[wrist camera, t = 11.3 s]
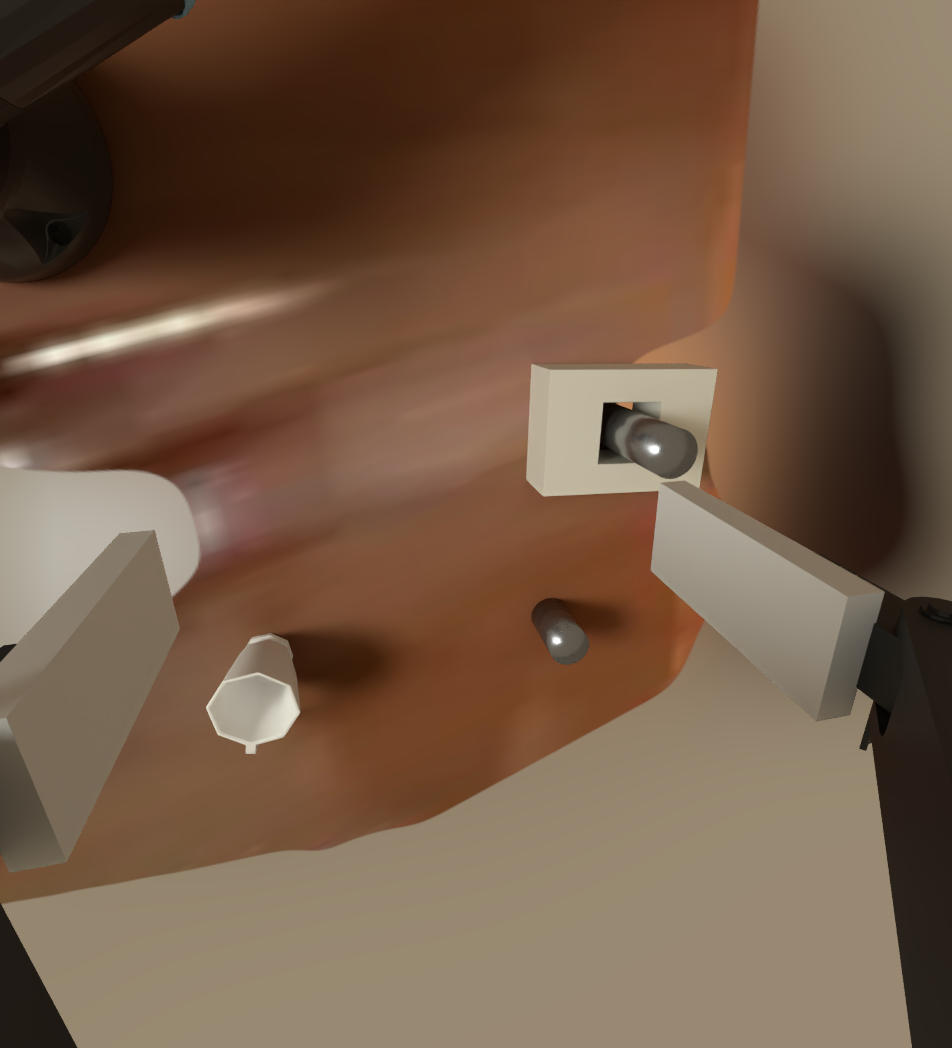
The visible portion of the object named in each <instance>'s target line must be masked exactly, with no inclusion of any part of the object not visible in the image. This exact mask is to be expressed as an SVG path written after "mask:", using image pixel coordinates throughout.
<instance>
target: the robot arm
mask: <svg viewBox="0 0 952 1048" xmlns="http://www.w3.org/2000/svg"><path fill="white" fill-rule="evenodd" d="M194 3H195V0H0V282H11V283H12V282H30V281H36V280H40V279H44V278H48V277H51V276H54V275H56V274H58V273H61V272H63V271H64V270H66V269H68V268H70V267H71V266H73V265H74V264H76V263H77V262H78V261H79V260H81V259H82V258H83V257H84V256H85V255H86V254H87V253H88V252H89V251H90V249H91V248H92V247H93V246H94V244H95V243H96V241H97V240H98V238H99V236H100V235H101V233H102V231H103V228H104V226H105V224H106V221H107V218H108V214H109V210H110V205H111V199H112V170H111V163H110V158H109V153H108V149H107V146H106V142H105V139H104V136H103V133H102V130H101V128H100V126H99V123H98V121H97V119H96V117H95V115H94V113H93V111H92V109H91V107H90V106H89V104H88V102H87V100H86V99H85V97H84V96H83V94H82V93H81V91H80V90H79V88H78V87H77V86H76V84H75V83H74V81H73V80H75V79H76V78H78V77H80V76H81V75H83V74H84V73H86V72H87V71H89V70H90V69H92V68H93V67H95V66H97V65H98V64H100V63H101V62H103V61H104V60H106V59H107V58H109V57H110V56H112V55H114V54H115V53H117V52H118V51H120V50H121V49H123V48H124V47H126V46H127V45H129V44H130V43H132V42H134V41H135V40H137V39H138V38H140V37H141V36H143V35H144V34H146V33H147V32H149V31H151V30H152V29H154V28H155V27H157V26H158V25H160V24H161V23H163V22H164V21H166V20H168V19H169V18H174V19H181V18H183V17H184V16H186V15H187V14H188V12H189V11H190V9H191V8H193V6H194ZM651 571H652V572H653V573H654V574H655V575H656V576H657V577H658V578H659V579H661V580H662V581H663V582H664V583H665V584H666V585H667V586H668V587H669V588H670V589H672V590H673V591H674V592H675V593H676V594H677V595H678V596H679V597H680V598H681V599H682V600H684V601H685V602H686V603H687V604H688V605H689V606H690V607H691V608H692V609H693V610H695V611H696V612H697V613H698V614H699V615H700V616H701V617H702V618H703V619H704V620H706V621H707V622H708V623H709V624H710V625H711V626H712V627H713V628H714V629H716V631H718V632H719V633H720V634H721V635H722V636H723V637H724V638H725V639H727V641H729V642H730V643H731V644H732V645H733V646H734V647H735V648H736V649H737V650H739V651H740V652H741V653H742V654H743V655H744V656H745V657H746V658H747V659H748V660H749V661H750V662H752V663H753V664H754V665H755V666H756V667H757V668H758V669H759V670H760V671H761V672H763V673H764V674H765V675H766V676H767V677H768V678H769V679H770V680H771V681H773V682H774V683H775V684H776V685H777V686H778V687H779V688H780V689H781V690H782V691H783V692H785V693H786V694H787V695H788V696H789V697H790V698H791V699H792V700H793V701H794V702H795V703H797V704H798V705H799V706H800V707H801V708H802V709H803V710H804V711H805V712H806V713H808V714H809V715H810V716H811V717H812V718H813V719H814V720H815V721H821V720H826V719H831V718H837V717H842V716H847V715H850V713H851V710H852V706H853V703H854V699H855V696H856V692H857V688H858V689H859V690H861V691H862V692H863V693H864V694H866V695H867V696H869V697H870V698H871V699H872V700H874V701H873V704H872V708H871V711H870V714H869V718H868V721H867V724H866V728H865V731H864V734H863V738H862V741H861V745H860V749H862V750H865V751H866V749H867V746H868V744H870V743H872V747H873V755H874V762H875V770H876V778H877V785H878V793H879V800H880V808H881V815H882V823H883V831H884V838H885V846H886V853H887V861H888V868H889V876H890V884H891V891H892V898H893V906H894V914H895V921H896V928H897V936H898V943H899V952H900V959H901V967H902V975H903V982H904V989H905V997H906V1005H907V1012H908V1019H909V1028H910V1035H911V1043H912V1048H952V601H948V600H943V599H939V598H930V597H912V598H909V599H907V600H903V599H901V598H899V597H897V596H895V595H894V594H892V593H890V592H888V591H887V590H885V589H883V588H881V587H879V586H877V585H876V584H874V583H872V582H870V581H868V580H867V579H865V578H863V577H861V576H859V575H858V576H856V575H855V573H854V572H852V571H850V570H848V569H847V568H845V567H840V565H839V564H838V563H836V562H834V561H832V560H830V559H828V558H827V557H825V556H823V555H821V554H818V553H815V552H812V551H811V550H809V549H807V548H805V547H803V546H802V545H800V544H798V543H796V542H794V541H793V540H791V539H789V538H787V537H785V536H784V535H782V534H780V533H778V532H776V531H775V530H773V529H771V528H769V527H767V526H766V525H764V524H762V523H760V522H758V521H757V520H755V519H753V518H751V517H750V516H748V515H746V514H744V513H742V512H741V511H739V510H737V509H735V508H733V507H731V506H730V505H728V504H726V503H724V502H723V501H721V500H719V499H717V498H715V497H714V496H712V495H710V494H708V493H706V492H705V491H703V490H701V489H699V488H697V487H696V486H694V485H692V484H690V483H688V482H687V481H685V480H684V481H674V482H663V483H660V486H659V496H658V506H657V515H656V525H655V534H654V544H653V553H652V563H651ZM179 630H180V628H179V624H178V620H177V616H176V612H175V608H174V604H173V600H172V596H171V593H170V588H169V585H168V581H167V577H166V573H165V569H164V565H163V561H162V557H161V553H160V550H159V546H158V542H157V538H156V534H155V530H152V531H141V532H130V533H121V534H119V535H118V536H117V537H116V538H115V539H114V540H113V541H112V543H110V544H109V545H108V547H107V548H106V549H105V550H104V551H103V552H102V553H101V554H100V555H99V556H98V557H97V558H96V559H95V561H94V562H93V563H92V564H91V565H90V566H89V567H88V568H87V569H86V570H85V571H84V572H83V574H82V575H81V576H80V577H79V578H78V579H77V580H76V581H75V582H74V584H72V585H71V586H70V588H69V589H68V590H67V591H66V592H65V593H64V594H63V595H62V596H61V597H60V599H58V601H57V602H56V603H55V604H54V605H53V606H52V607H51V608H50V609H49V610H48V611H47V612H46V613H45V615H44V616H43V617H42V618H41V619H40V620H39V621H38V622H37V623H36V624H35V625H34V626H33V628H32V629H31V630H30V631H29V632H28V633H27V634H26V635H25V636H24V637H23V638H22V639H21V641H20V642H19V643H18V644H12V645H4V646H2V647H1V648H0V853H1V855H2V857H3V859H4V862H5V864H6V866H7V868H8V870H9V872H10V873H11V872H16V871H22V870H27V869H32V868H38V867H43V866H48V865H54V864H59V863H64V862H67V860H68V858H69V856H70V854H71V852H72V850H73V848H74V846H75V844H76V842H77V840H78V838H79V836H80V834H81V831H82V829H83V827H84V825H85V823H86V821H87V819H88V817H89V815H90V813H91V811H92V809H93V807H94V805H95V803H96V801H97V799H98V796H99V794H100V792H101V790H102V788H103V786H104V784H105V782H106V780H107V778H108V776H109V774H110V772H111V770H112V768H113V766H114V764H115V761H116V759H117V757H118V755H119V753H120V751H121V749H122V747H123V745H124V743H125V741H126V739H127V737H128V735H129V733H130V731H131V729H132V726H133V724H134V722H135V720H136V718H137V716H138V714H139V712H140V710H141V708H142V706H143V704H144V702H145V700H146V698H147V696H148V694H149V692H150V689H151V687H152V685H153V683H154V681H155V679H156V677H157V675H158V673H159V671H160V669H161V667H162V665H163V663H164V661H165V659H166V657H167V654H168V652H169V650H170V648H171V646H172V644H173V642H174V640H175V638H176V636H177V634H178V632H179ZM0 1048H77V1046H76V1044H75V1043H74V1041H73V1039H72V1037H71V1035H70V1033H69V1031H68V1029H67V1028H66V1026H65V1024H64V1022H63V1020H62V1018H61V1016H60V1014H59V1012H58V1010H57V1009H56V1007H55V1005H54V1003H53V1001H52V999H51V997H50V995H49V994H48V992H47V990H46V988H45V986H44V984H43V983H42V980H41V979H40V977H39V975H38V973H37V971H36V969H35V967H34V965H33V963H32V962H31V960H30V958H29V956H28V954H27V952H26V950H25V948H24V947H23V945H22V943H21V941H20V939H19V937H18V935H17V934H16V932H15V930H14V928H13V926H12V924H11V922H10V920H9V918H8V917H7V915H6V913H5V911H4V909H3V907H2V905H1V903H0Z"/></svg>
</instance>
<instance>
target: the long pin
mask: <svg viewBox="0 0 952 1048" xmlns="http://www.w3.org/2000/svg"><path fill="white" fill-rule="evenodd" d="M600 444H602V445H604V446H606V447H607V448H609V449H611V450H613V451H615V452H616V453H618V454H620V455H622V456H624V457H625V458H627V459H629V460H631V461H633V462H634V463H636V464H638V465H640V466H642V467H643V468H645V469H647V470H649V471H651V472H653V473H654V474H656V475H658V476H660V477H662V478H665V479H674V478H678V477H680V476H682V475H684V474H685V473H686V472H688V471H689V470H690V469H691V467H692V466H693V464H694V462H695V460H696V457H697V453H698V445H697V441H696V439H695V437H694V436H693V435H692V434H691V433H690V432H689V431H687V430H685V429H682V428H679V427H677V426H674V425H671V424H669V423H666V422H663V421H660V420H658V419H655V418H652V417H650V416H647V415H644V414H641V413H639V412H636V411H633V410H630V409H628V408H625V407H622V406H620V405H617V404H614V403H611V402H603V412H602V423H601V434H600Z"/></svg>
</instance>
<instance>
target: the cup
mask: <svg viewBox="0 0 952 1048" xmlns="http://www.w3.org/2000/svg"><path fill="white" fill-rule="evenodd" d="M292 658H293V654H292V651H291V648H290V645H289V643H288V640H285V639H283V638H281V637H279V636H276V635H274V634H272V633H268V634H264V635H260V636H256V637H253V638H251V640H250V641H249V643H248V644H247V646H246V648H245V649H244V650H243V651H242V652H241V653H240V654H239V656H238V658H237V659H236V661H235V662H234V664H233V665H232V667H231V669H230V670H229V672H228V673H227V675H226V677H225V678H224V680H223V681H222V683H221V685H220V686H219V688H218V689H217V691H216V692H215V694H214V696H213V697H212V699H211V700H210V702H209V704H208V705H207V707H206V709H207V711H208V714H209V716H210V718H211V720H212V723H213V725H214V727H215V729H216V732H217V734H218V735H220V736H223V737H225V738H228V739H231V740H234V741H236V742H239V743H242V744H245V745H246V754H256V752H257V748H258V744H261V743H264V742H268V741H272V740H275V739H279V738H283V737H284V736H285V734H286V733H287V731H288V730H289V729H290V727H291V726H292V724H293V723H294V721H295V720H296V718H297V717H298V715H299V714H300V703H299V695H298V684H297V676H296V672H295V668H294V665H293V662H292Z"/></svg>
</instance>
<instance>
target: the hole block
mask: <svg viewBox="0 0 952 1048" xmlns="http://www.w3.org/2000/svg"><path fill="white" fill-rule="evenodd" d="M717 371H718V369H714V368H708V367H701V366H696V365H690V364H532V366H531V388H530V409H529V431H528V453H527V474H526V480H527V481H528V482H529V483H530V484H531V485H532V486H533V487H534V488H535V489H536V490H537V491H538V492H539V493H540V494H541V495H542V496H560V495H582V494H603V493H624V492H645V491H659V486H660V483H663V482H674V481H684V480H685V481H687V482H688V483H690V484H692V485H694V486H696V487H697V488H699V486H700V480H701V473H702V467H703V461H704V454H705V448H706V441H707V435H708V429H709V422H710V415H711V409H712V403H713V397H714V390H715V384H716V377H717ZM603 402H633V408H632V410H633V411H636V412H639V413H641V414H644V415H647V416H650V417H652V418H655V419H658V420H660V421H663V422H666V423H669V424H671V425H674V426H677V427H679V428H682V429H685V430H687V431H689V432H690V433H691V434H692V435H693V436H694V437H695V439H696V441H697V445H698V453H697V457H696V460H695V462H694V464H693V466H692V467H691V469H690V470H689V471H688V472H686V473H685V474H684V475H682V476H680V477H678V478H674V479H665V478H662V477H660V476H658V475H656V474H654V473H653V472H651V471H649V470H647V469H645V468H643V467H642V466H640V465H638V464H636V463H634V462H633V461H631V460H629V459H627V458H625V457H624V456H622V455H620V454H618V453H616V452H615V451H613V450H611V449H610V450H599V445H600V434H601V423H602V412H603Z"/></svg>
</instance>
